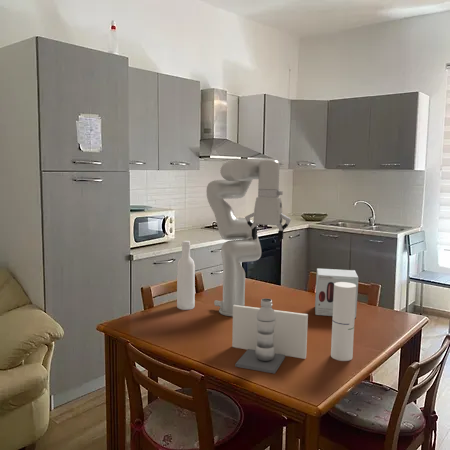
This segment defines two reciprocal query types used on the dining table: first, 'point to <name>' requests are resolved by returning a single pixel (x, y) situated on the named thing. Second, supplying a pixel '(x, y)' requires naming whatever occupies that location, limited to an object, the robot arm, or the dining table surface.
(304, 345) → the screen
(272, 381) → the dining table surface
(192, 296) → the bottle
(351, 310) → the cylindrical container
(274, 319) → the plastic bottle
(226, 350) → the dining table surface
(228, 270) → the robot arm
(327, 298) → the supplement box
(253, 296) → the dining table surface
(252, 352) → the mat
